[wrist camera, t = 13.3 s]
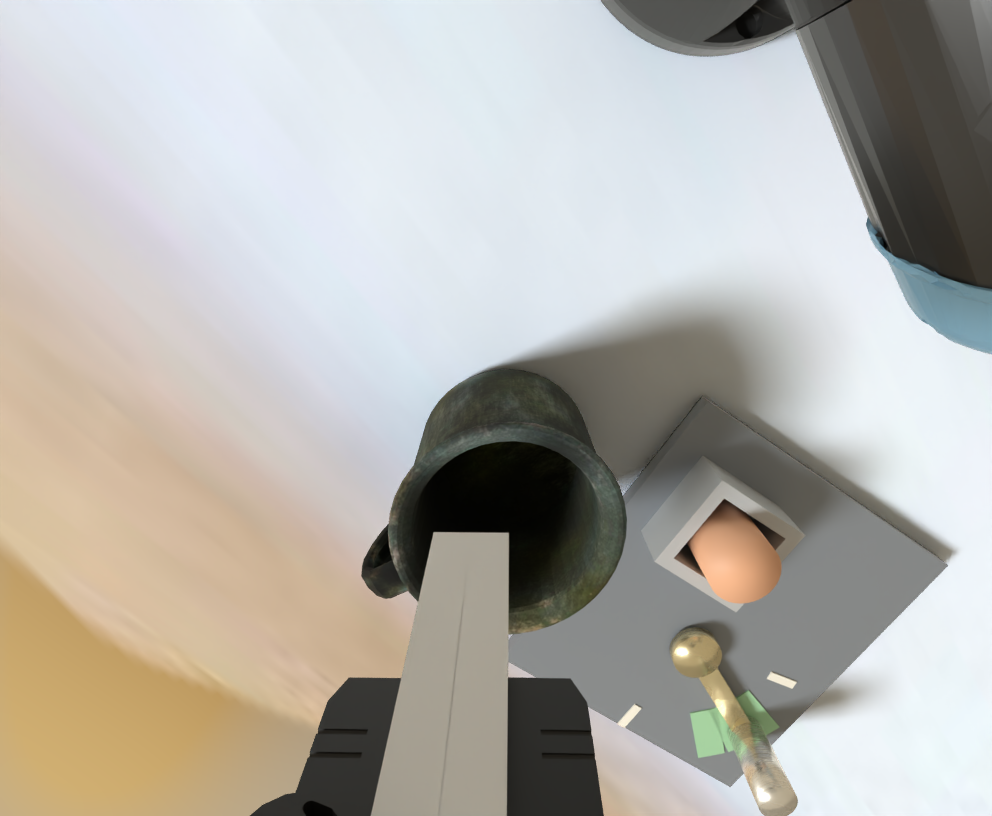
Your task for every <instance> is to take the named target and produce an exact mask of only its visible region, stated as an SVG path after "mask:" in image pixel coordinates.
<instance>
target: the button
mask: <svg viewBox="0 0 992 816" xmlns="http://www.w3.org/2000/svg"><path fill="white" fill-rule="evenodd" d="M687 544H688V546H689V548H690V550H691V552H692V553H693V555H694V557H695V559H696V561H697V563H698V564H699V566H700V568H701V570H702V572H703V574H704V575H705V577H706V579H707V581H708V583H709V585H710V586H711V588H712V590H713V591H714V593H715V594H716V595H718V596H719V597H720V598H722V599H724V600H726V601H728V602H732V603H738V604H743V603H750V602H754V601H757V600H759V599H761V598H763V597H764V596H766V595H767V594H768V593H770V592H771V591H772V590H773V589H774V587H775V586H776V584H777V583H778V581H779V579H780V576H781V570H782V565H781V560H780V557H779V555H778V553H777V552H776V551H775V549H774V548H773V547H772V545H771V544H770V543H769V542H768V540H767V539H766V538H765V536H764V535H763V534H762V533H761V531H760V530H759V529H758V528H757V526H756V525H755V524H754V522H753V521H752V520H751V519H750V517H749V516H748V515H747V513H746V512H744V511H743V510H741V509H740V508H738V507H737V506H735V505H733V504H732V503H730V502H729V501H727V500H726V499H723V500H722V502H721V503H720V504H719V505H718V506H717V508H716V509H715V510H714V511H713V512H712V513H711V515H710V516H709V517H708V518H707V519H706V521H705V522H704V523H703V524H702V525H701V526H700V528H699V529H698V530H697V531H696V532H695V534H694V535H693V536H692V537H691V538H690V540H689V541H688V542H687Z"/></svg>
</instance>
